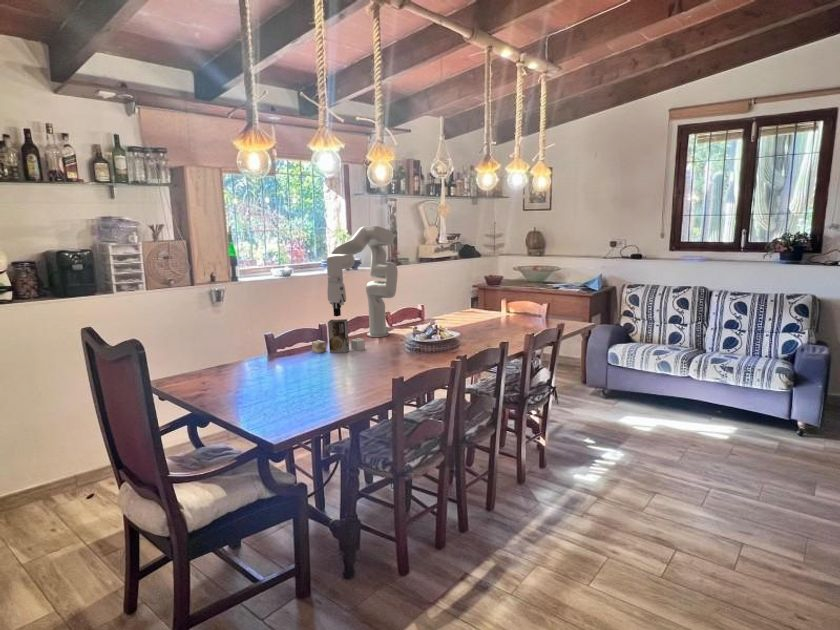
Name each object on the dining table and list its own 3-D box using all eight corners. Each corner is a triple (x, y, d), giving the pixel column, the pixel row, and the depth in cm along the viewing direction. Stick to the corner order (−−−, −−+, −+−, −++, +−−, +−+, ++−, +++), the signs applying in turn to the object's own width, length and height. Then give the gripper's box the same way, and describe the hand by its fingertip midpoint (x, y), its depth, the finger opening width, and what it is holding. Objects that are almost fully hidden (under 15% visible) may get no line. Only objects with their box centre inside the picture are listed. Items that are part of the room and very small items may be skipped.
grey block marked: (358, 347, 282) (358, 337, 282) (364, 348, 279) (364, 339, 278) (351, 349, 279) (350, 339, 278) (357, 350, 276) (356, 341, 275)
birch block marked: (320, 349, 280) (319, 340, 279) (326, 351, 276) (325, 341, 275) (312, 351, 276) (311, 341, 276) (317, 353, 273) (317, 343, 272)
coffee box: (349, 349, 278) (348, 319, 275) (346, 352, 272) (344, 321, 269) (332, 349, 279) (330, 319, 276) (329, 352, 273) (327, 321, 270)
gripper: (350, 280, 266) (352, 316, 269) (332, 278, 277) (334, 313, 280) (338, 281, 261) (340, 318, 264) (320, 279, 272) (322, 315, 275)
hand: (337, 315), depth 272 cm, fingers closed
